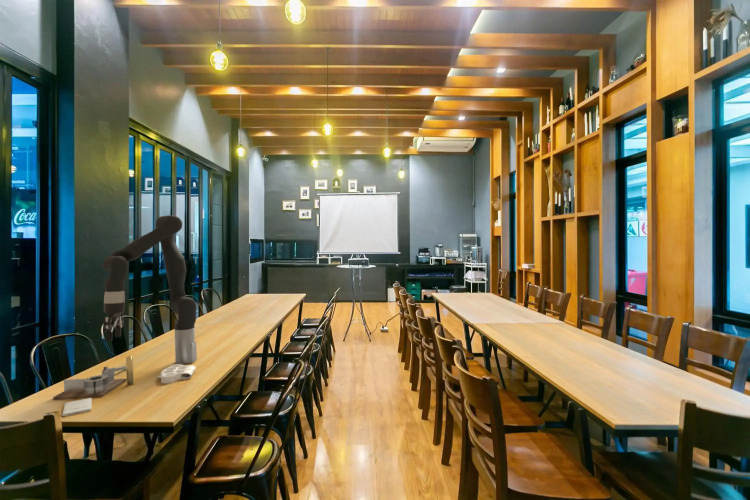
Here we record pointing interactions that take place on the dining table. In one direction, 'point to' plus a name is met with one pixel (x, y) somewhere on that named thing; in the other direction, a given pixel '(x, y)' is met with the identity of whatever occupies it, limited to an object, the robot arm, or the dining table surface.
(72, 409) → the external hard drive
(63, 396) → the hinge board
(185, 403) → the dining table surface
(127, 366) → the hinge pin
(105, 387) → the hinge
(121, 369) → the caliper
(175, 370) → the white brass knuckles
